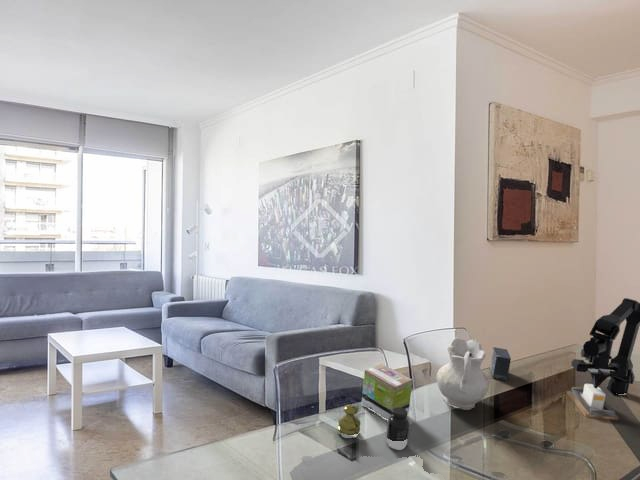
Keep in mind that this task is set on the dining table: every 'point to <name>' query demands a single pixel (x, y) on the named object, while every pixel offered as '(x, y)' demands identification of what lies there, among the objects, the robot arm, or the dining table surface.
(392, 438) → the supplement bottle
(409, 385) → the tea box
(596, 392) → the block
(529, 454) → the dining table surface
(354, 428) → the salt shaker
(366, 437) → the dining table surface
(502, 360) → the small box
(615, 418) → the rail mount
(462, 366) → the ceramic pitcher
